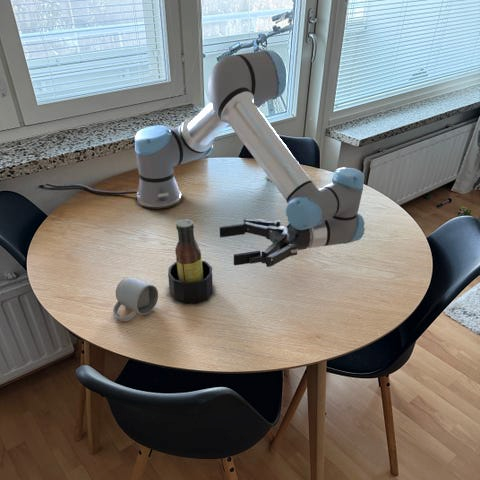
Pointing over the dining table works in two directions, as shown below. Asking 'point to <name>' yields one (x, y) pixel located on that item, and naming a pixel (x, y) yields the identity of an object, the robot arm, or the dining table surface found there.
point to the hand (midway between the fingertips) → (226, 245)
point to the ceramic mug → (135, 297)
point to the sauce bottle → (188, 253)
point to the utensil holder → (191, 286)
